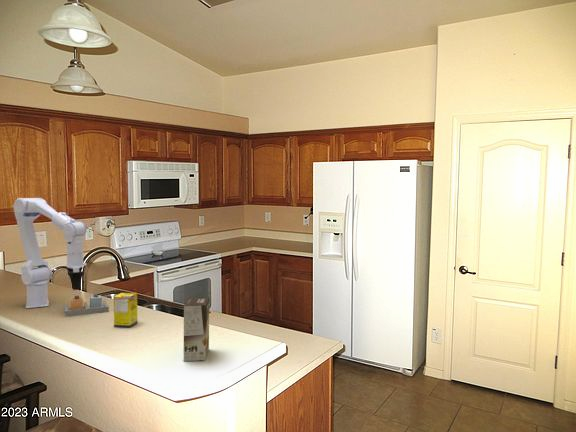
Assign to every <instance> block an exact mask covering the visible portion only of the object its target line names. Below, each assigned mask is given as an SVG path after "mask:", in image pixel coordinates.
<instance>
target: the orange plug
mask: <svg viewBox="0 0 576 432" xmlns="http://www.w3.org/2000/svg"><path fill="white" fill-rule="evenodd" d="M76 309H84V298H83V296H80V295H75V296H74V297H71V298H70V310H76Z"/></svg>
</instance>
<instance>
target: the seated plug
mask: <svg viewBox="0 0 576 432" xmlns="http://www.w3.org/2000/svg"><path fill="white" fill-rule="evenodd" d="M94 307H103V297H102V295H101V294H100V295H99V294H98V293H94V294H93V295H90V296H89V308H94Z"/></svg>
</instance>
